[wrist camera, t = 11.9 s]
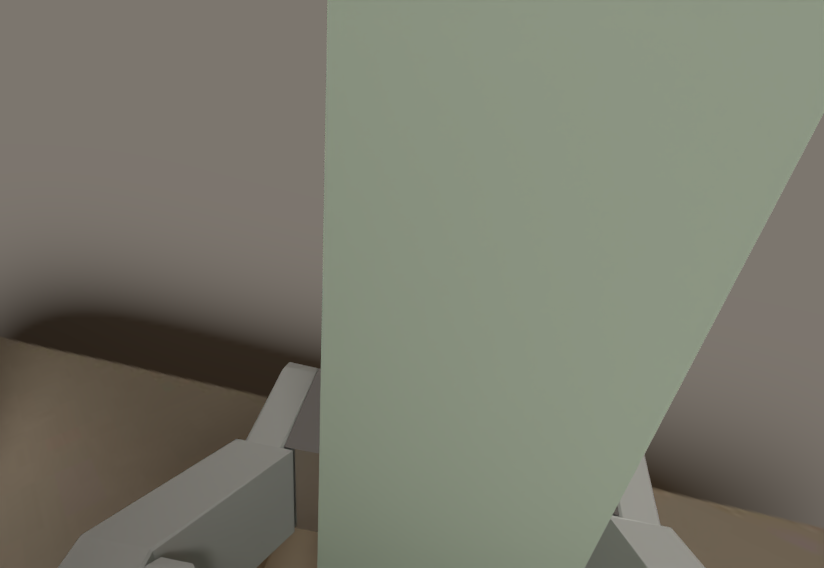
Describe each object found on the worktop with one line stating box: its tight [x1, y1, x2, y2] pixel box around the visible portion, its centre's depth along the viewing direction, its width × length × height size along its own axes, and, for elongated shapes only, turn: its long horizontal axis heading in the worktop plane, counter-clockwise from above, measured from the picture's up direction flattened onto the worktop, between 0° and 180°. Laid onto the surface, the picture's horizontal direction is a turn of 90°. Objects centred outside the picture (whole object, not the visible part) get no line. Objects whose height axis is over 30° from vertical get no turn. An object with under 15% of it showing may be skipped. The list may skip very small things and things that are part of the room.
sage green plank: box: [317, 0, 824, 568], centre depth 9 cm, size 2×5×18 cm, turn 171°
